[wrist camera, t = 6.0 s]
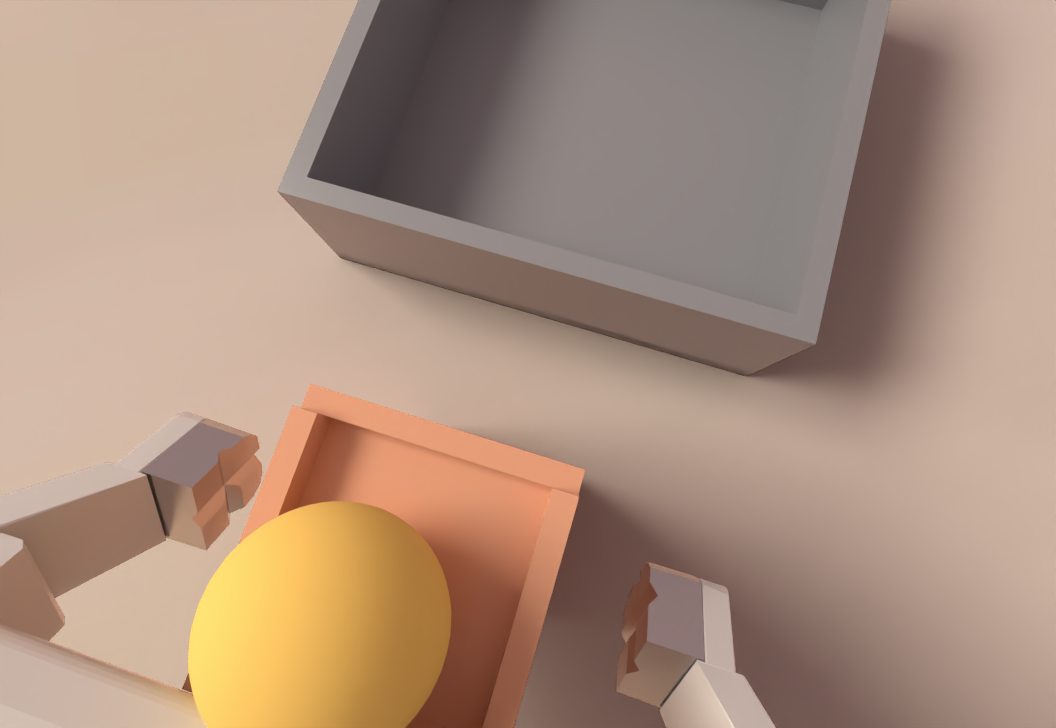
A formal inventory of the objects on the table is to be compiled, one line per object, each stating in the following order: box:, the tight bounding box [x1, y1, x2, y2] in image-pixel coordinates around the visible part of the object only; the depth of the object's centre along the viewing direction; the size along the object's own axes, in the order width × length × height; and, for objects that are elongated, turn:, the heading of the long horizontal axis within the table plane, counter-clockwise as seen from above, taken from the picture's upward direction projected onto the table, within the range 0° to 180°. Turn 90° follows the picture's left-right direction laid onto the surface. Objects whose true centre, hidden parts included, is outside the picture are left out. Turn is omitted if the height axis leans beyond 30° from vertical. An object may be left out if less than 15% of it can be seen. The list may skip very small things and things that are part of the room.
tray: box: [278, 0, 891, 376], centre depth 17 cm, size 14×14×5 cm
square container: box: [182, 384, 585, 728], centre depth 12 cm, size 4×4×10 cm
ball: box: [188, 501, 451, 728], centre depth 7 cm, size 3×3×3 cm
